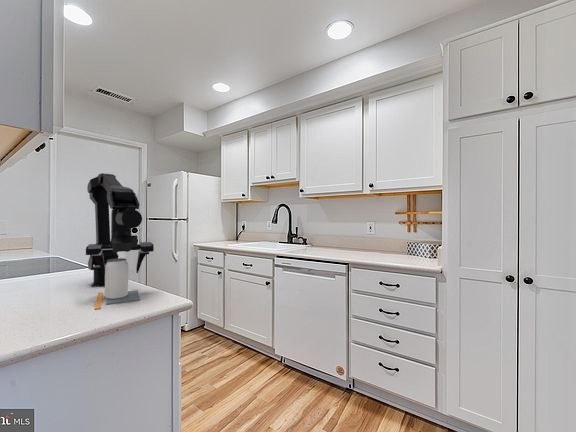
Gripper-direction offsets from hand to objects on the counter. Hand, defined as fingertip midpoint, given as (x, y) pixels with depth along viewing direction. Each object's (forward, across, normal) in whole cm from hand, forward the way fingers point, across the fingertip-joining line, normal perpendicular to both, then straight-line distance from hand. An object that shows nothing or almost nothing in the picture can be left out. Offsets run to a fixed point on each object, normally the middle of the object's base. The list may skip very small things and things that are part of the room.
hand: (121, 274), depth 93 cm
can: (+7, -1, 0) cm, 7 cm away
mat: (+8, 0, -1) cm, 8 cm away
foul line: (+8, -6, -1) cm, 10 cm away
